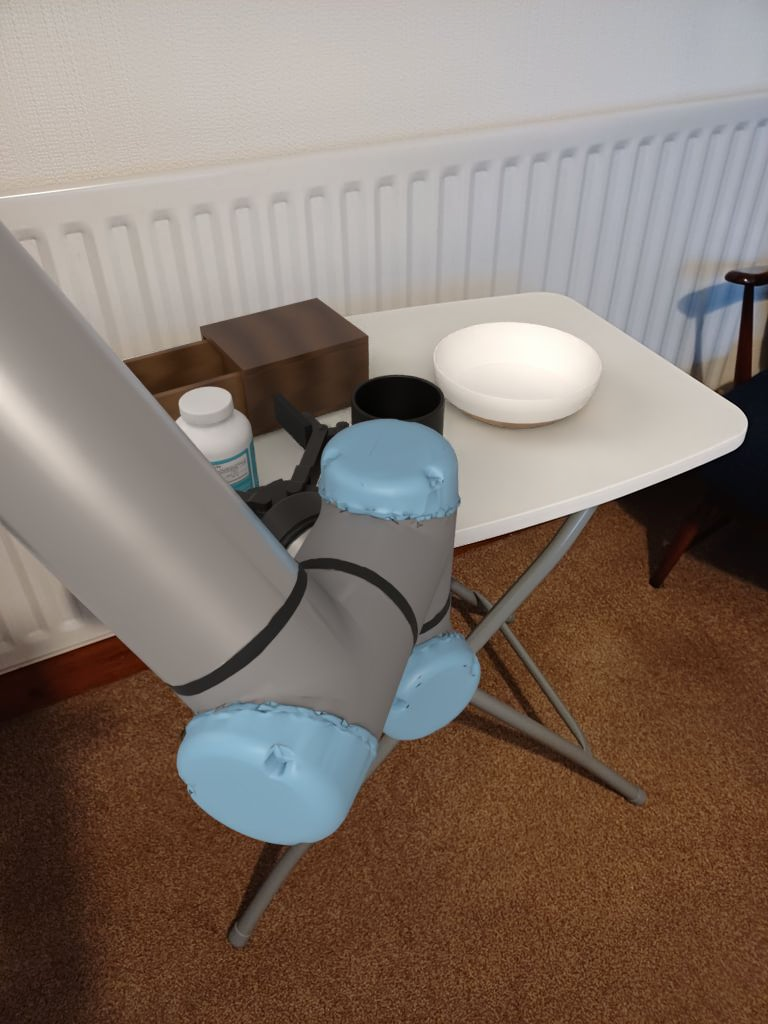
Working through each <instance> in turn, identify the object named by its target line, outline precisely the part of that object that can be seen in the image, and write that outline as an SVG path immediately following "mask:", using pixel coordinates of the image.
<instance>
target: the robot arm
mask: <svg viewBox="0 0 768 1024" xmlns="http://www.w3.org/2000/svg"><path fill="white" fill-rule="evenodd" d="M273 403H274V413H275V420H276V421H277V422H278V423H279V424H280V425H281V426H282V427H283V428H282V429H284V431H285V432H286V433H287V434H288V435H289V436H290V437H291V438H293V440H294V441H295V442H296V443H297V444H298V445H299V446H300V447H301V448H302V450H304V452H303V453H302V457H301V459H300V462H299V464H296V466H295V468H294V469H293V473H292V475H291V476H290V479H283V478H282V477H281V478H278V479H275V480H273V481H271V482H269V483H267V484H265V485H259V487H255V488H252V489H249V490H247V492H243V491H238V490H234V489H233V488H232V487H231V486H230V485H229V483H228V482H227V481H226V480H225V479H224V478H223V476H222V475H221V474H220V473H219V472H218V471H217V470H216V468H215V467H214V466H213V465H212V464H211V463H210V461H209V460H208V459H207V458H206V457H205V456H204V455H203V453H202V452H201V451H200V450H199V449H198V448H197V446H196V445H195V444H194V443H193V442H192V441H191V440H190V438H189V437H188V436H187V435H186V434H185V433H184V431H183V430H182V429H181V428H180V427H179V426H178V425H177V423H176V422H175V421H174V420H173V419H172V418H171V416H170V415H169V414H168V413H167V412H166V411H165V410H164V408H163V407H162V406H161V405H160V404H159V403H158V401H157V400H156V399H155V398H154V397H153V396H152V395H151V393H150V392H149V391H148V390H147V389H146V388H145V386H144V385H143V384H142V383H141V382H140V381H139V379H138V378H137V377H136V376H135V375H134V374H133V373H132V371H131V370H130V369H129V368H128V367H127V366H126V364H125V363H124V362H123V360H122V359H121V357H120V356H119V355H118V354H117V353H116V352H115V351H114V349H113V348H112V347H111V346H110V345H109V344H108V342H107V341H106V339H104V338H103V337H102V335H101V334H100V332H98V331H97V329H96V328H94V326H93V325H92V323H90V321H88V319H87V318H86V317H85V316H84V315H83V313H82V312H81V311H80V310H79V308H77V307H76V305H74V303H73V302H72V301H71V299H70V298H68V296H67V295H66V294H65V292H63V290H62V289H61V288H60V287H59V285H57V283H56V282H55V281H54V280H53V279H52V278H51V276H49V274H48V273H47V272H46V271H45V269H43V268H42V266H41V265H40V264H39V263H38V262H37V260H36V259H35V258H34V257H33V256H32V255H31V254H30V252H29V251H28V250H27V249H26V247H24V245H23V244H22V243H21V242H20V241H19V240H18V238H16V236H15V235H14V233H12V231H11V230H10V229H9V228H8V227H7V226H6V225H5V223H4V222H3V221H2V220H1V219H0V526H1V527H2V528H3V529H4V530H6V531H7V532H8V534H9V535H10V536H12V538H14V539H15V540H16V541H17V543H19V544H20V545H21V546H22V547H23V548H24V549H25V550H26V551H27V552H29V554H30V555H32V557H33V558H35V559H36V560H37V561H38V562H39V563H40V564H41V565H42V566H43V567H44V568H45V569H46V570H47V571H48V572H49V573H50V574H51V575H52V576H53V577H54V578H55V579H56V580H57V581H59V582H60V583H61V585H63V586H64V587H65V588H66V589H67V590H68V591H69V592H70V593H71V594H72V595H73V596H74V597H75V598H76V599H77V600H78V601H80V603H81V604H82V605H83V606H84V607H86V608H87V609H88V610H89V611H90V612H91V613H92V614H93V616H95V617H96V618H97V619H98V620H99V621H100V622H101V623H102V624H103V625H104V626H105V627H106V628H107V629H108V630H109V631H111V633H113V634H114V635H115V636H116V637H117V638H118V640H120V641H121V642H122V643H123V644H124V645H125V646H126V647H127V648H128V649H129V650H130V651H131V652H132V653H133V654H134V655H136V656H137V657H138V658H139V659H140V660H141V661H142V662H143V663H144V664H145V665H146V666H147V667H148V668H149V670H151V671H152V672H153V673H154V674H155V675H156V676H158V678H159V679H161V681H162V682H164V684H166V685H167V686H168V687H169V688H170V689H171V690H172V691H173V692H174V693H175V695H176V696H177V697H178V698H179V699H180V700H181V701H182V702H183V703H184V704H185V705H186V706H187V707H188V708H189V709H191V711H192V712H193V713H194V715H193V717H192V718H191V720H190V721H189V722H188V723H187V725H186V726H185V736H184V737H183V739H182V741H181V743H180V745H179V747H178V750H177V754H176V769H177V772H178V776H179V777H180V779H181V780H182V781H183V782H184V784H185V785H187V786H186V787H187V792H188V794H189V795H190V798H191V799H192V800H193V802H195V804H196V805H197V806H199V807H200V808H201V810H203V811H204V812H205V813H207V815H209V816H210V817H212V818H213V819H214V820H216V821H217V822H219V823H221V824H222V825H224V826H226V827H227V828H229V829H230V830H233V831H235V832H237V833H240V834H242V835H243V836H246V837H250V838H252V839H255V840H258V841H261V842H266V843H270V844H273V845H282V846H283V845H284V846H295V845H298V844H301V843H306V844H307V843H308V844H309V843H316V842H319V841H321V840H324V839H327V838H328V837H329V836H331V835H332V834H333V833H335V832H336V831H337V830H338V829H339V828H340V827H341V825H342V823H343V822H344V821H345V820H346V818H347V816H348V814H349V812H350V810H351V808H352V805H353V803H354V801H355V799H356V797H357V795H358V793H359V790H360V789H361V787H362V784H363V782H364V780H365V778H366V776H367V774H368V772H369V769H370V767H371V765H372V763H373V762H374V761H375V760H376V759H377V756H378V752H379V749H380V740H381V736H382V734H383V733H384V734H385V735H387V736H388V737H390V738H391V739H395V740H399V741H414V740H418V739H422V738H424V737H428V736H429V735H431V734H433V733H435V732H436V731H439V730H440V729H444V727H446V726H447V725H449V724H450V723H451V722H452V721H453V720H455V719H456V718H457V717H458V716H459V715H460V714H461V713H462V712H463V711H464V710H465V708H466V707H467V706H468V705H469V703H470V702H471V700H472V699H473V697H474V696H475V694H476V692H477V689H478V687H479V684H480V681H481V675H482V672H481V671H482V670H481V669H482V668H481V664H480V662H479V658H478V656H477V654H476V653H475V652H474V650H473V649H472V648H471V646H470V645H469V644H468V642H467V641H466V637H465V636H464V635H463V634H462V633H461V632H458V631H457V630H455V629H454V628H453V626H452V622H451V620H450V618H451V607H452V588H451V587H452V586H451V584H452V573H453V564H454V563H453V561H454V551H455V539H456V530H457V528H456V527H457V519H458V508H459V507H460V506H461V501H462V497H461V495H460V494H459V460H458V455H457V453H456V451H455V449H454V447H453V446H452V443H450V442H449V441H448V439H446V437H444V435H443V436H442V435H440V434H439V433H438V432H436V431H435V430H433V429H431V428H429V427H427V426H424V425H422V424H419V423H416V422H406V421H401V420H397V419H377V420H370V421H365V422H361V423H358V424H355V425H352V424H351V425H350V423H349V422H348V421H346V420H345V421H343V420H342V421H338V422H336V423H335V426H331V427H329V426H328V425H327V424H325V423H321V422H320V421H319V420H318V419H317V418H314V417H313V416H312V415H311V414H310V413H308V412H303V413H300V412H299V411H298V410H297V409H296V408H295V407H294V406H293V405H292V404H291V403H290V402H289V401H288V400H287V399H286V398H285V397H284V396H283V395H282V394H281V393H277V394H274V395H273ZM319 479H320V480H319Z"/></svg>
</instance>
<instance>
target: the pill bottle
mask: <svg viewBox="0 0 768 1024" xmlns="http://www.w3.org/2000/svg"><path fill="white" fill-rule="evenodd" d="M179 409H180V415H181V416H180V417H179V418H178V419H177V420H176V421H175V422H176V423H177V425H178V426H179V427H180V428H181V429H182V430H183V431H184V433H185V434H186V435H187V436H188V437H189V438H190V440H191V441H192V442H193V443H194V444H195V445H196V446H197V448H198V449H199V450H200V451H201V452H202V453H203V455H204V456H205V457H206V458H207V459H208V460H209V461H210V463H211V464H212V465H213V466H214V467H215V468H216V470H217V471H218V472H219V473H220V474H221V475H222V476H223V478H224V479H225V480H226V481H227V482H228V483H229V485H230V486H231V487H232V488H233V489H234V490H238V491H243V492H247V490H249V489H252V488H255V487H260V480H259V474H258V473H259V472H258V467H257V459H256V452H255V451H256V450H255V443H254V437H253V435H252V428H251V425H250V422H249V420H248V419H247V418H246V416H245V415H243V414H242V413H241V412H239V411H238V410H236V409H234V406H233V401H232V396H231V394H230V393H229V392H228V391H227V390H225V389H222V388H219V387H201V388H197V389H194V390H191V391H189V392H187V393H185V394H184V395H183V396H182V397H181V398H180V400H179Z"/></svg>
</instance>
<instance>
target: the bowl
mask: <svg viewBox="0 0 768 1024" xmlns="http://www.w3.org/2000/svg"><path fill="white" fill-rule="evenodd" d="M432 360H433V362H432V363H433V374H434V377H435V380H436V384H437V386H438V387H439V388H440V389H441V391H442V392H443V394H444V397H445V400H447V401H448V402H449V403H451V404H452V405H453V406H454V407H456V408H457V409H458V410H459V411H461V412H462V413H464V414H465V415H467V416H469V417H471V418H473V419H475V420H477V421H480V422H483V423H487V424H490V425H492V426H495V427H501V428H508V429H529V428H536V427H542V426H547V425H551V424H554V423H557V422H558V421H562V420H563V419H566V418H568V417H570V416H571V415H574V414H575V413H577V412H579V410H581V409H583V408H584V407H585V406H586V404H588V402H589V400H590V399H591V398H592V396H593V395H594V393H595V392H596V390H597V387H598V384H599V381H600V379H601V377H602V372H603V362H602V359H601V357H600V355H599V353H598V352H597V351H596V350H595V349H594V348H593V346H592V345H590V344H589V343H587V341H585V340H583V339H582V338H580V337H578V336H576V335H574V334H572V333H570V332H567V331H564V330H561V329H558V328H555V327H551V326H547V325H544V324H537V323H532V322H523V321H522V322H520V321H491V322H483V323H477V324H472V325H468V326H466V327H462V328H459V329H457V330H455V331H453V332H451V333H448V334H447V335H446V336H445V337H443V338H442V339H440V341H438V343H437V345H436V346H435V347H434V350H433V353H432Z"/></svg>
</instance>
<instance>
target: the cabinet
mask: <svg viewBox="0 0 768 1024" xmlns="http://www.w3.org/2000/svg"><path fill="white" fill-rule="evenodd" d="M199 332H200V337H201V340H205V339H207V340H208V341H209V342H210V343H211V344H212V345H213V346H214V347H215V348H216V349H217V350H218V351H219V352H220V353H221V354H222V355H223V356H224V357H225V358H226V359H227V360H228V361H229V362H230V363H231V364H232V365H233V366H234V367H235V368H236V369H237V370H238V371H239V372H240V373H241V374H242V382H243V390H244V398H245V406H246V413H247V419H248V420H249V422H250V425H251V428H252V435H253V438H256V437H259V436H262V435H266V434H268V433H272V432H274V431H278V430H281V429H284V428H283V427H282V426H281V425H280V424H279V423H278V422H277V421H276V420H275V413H274V403H273V395H274V394H277V393H281V394H282V395H283V396H284V397H285V398H286V399H287V400H288V401H289V402H290V403H291V404H292V405H293V406H294V407H295V408H296V409H297V410H298V411H299V412H300V413H303V412H308V413H310V414H311V415H312V416H313V417H314V418H315V419H317V418H318V417H321V416H322V417H323V416H325V415H328V414H329V415H330V414H331V413H335V412H338V411H341V410H344V409H347V408H351V395H352V393H353V391H354V389H355V388H356V387H357V386H358V385H360V384H361V383H363V382H365V381H367V380H369V379H370V349H369V348H370V346H369V345H370V343H369V342H370V341H369V340H370V339H369V335H368V334H367V333H366V332H364V331H363V330H361V329H360V328H359V327H358V326H356V325H355V324H353V323H352V322H351V321H349V320H348V319H346V318H345V317H344V316H342V315H341V314H340V313H339V312H337V311H336V310H334V309H333V308H332V307H330V306H329V305H328V304H326V303H325V302H324V301H323V300H321V299H319V298H318V297H314V298H310V299H305V300H302V301H298V302H294V303H289V304H286V305H281V306H278V307H273V308H270V309H265V310H260V311H258V312H253V313H248V314H244V315H240V316H237V317H232V318H228V319H224V320H220V321H217V322H212V323H208V324H205V325H204V324H203V325H200V326H199Z"/></svg>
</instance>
